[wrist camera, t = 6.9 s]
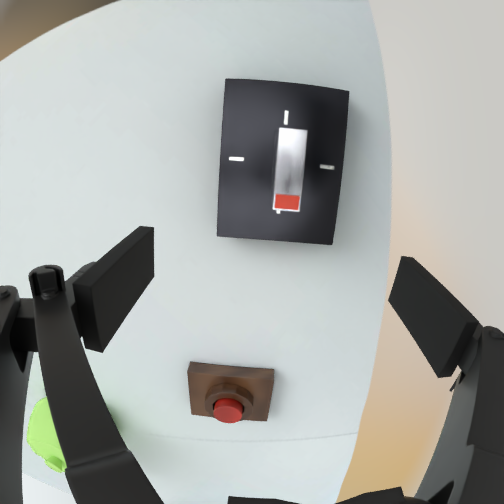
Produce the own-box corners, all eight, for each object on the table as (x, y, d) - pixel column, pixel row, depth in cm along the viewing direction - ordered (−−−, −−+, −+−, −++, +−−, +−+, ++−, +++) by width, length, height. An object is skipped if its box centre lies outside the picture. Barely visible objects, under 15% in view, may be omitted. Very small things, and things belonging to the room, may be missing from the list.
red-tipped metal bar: (274, 130, 27) (279, 126, 20) (295, 132, 27) (308, 129, 20) (269, 191, 29) (272, 210, 22) (290, 193, 29) (300, 213, 22)
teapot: (88, 447, 55) (67, 494, 40) (31, 385, 48) (-3, 434, 33) (169, 448, 51) (153, 511, 36) (106, 377, 44) (69, 448, 29)
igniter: (273, 368, 41) (274, 388, 37) (266, 411, 45) (267, 430, 41) (190, 361, 41) (184, 380, 38) (193, 404, 45) (189, 422, 41)
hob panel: (341, 95, 28) (349, 90, 25) (326, 236, 34) (332, 245, 31) (228, 83, 28) (225, 78, 25) (220, 228, 34) (216, 236, 31)
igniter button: (243, 398, 39) (242, 407, 37) (242, 415, 40) (241, 424, 39) (214, 396, 39) (213, 405, 37) (215, 413, 40) (213, 421, 39)
